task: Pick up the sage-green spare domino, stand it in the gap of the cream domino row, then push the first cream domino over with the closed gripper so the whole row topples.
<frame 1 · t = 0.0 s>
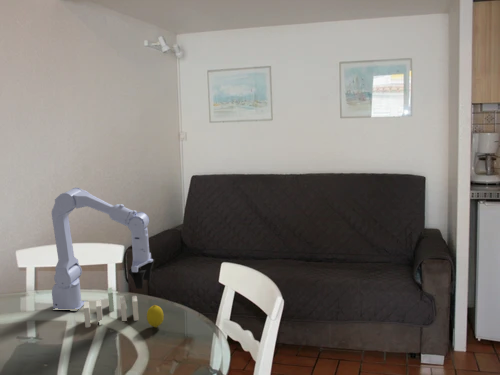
hand: (143, 283, 188), 10 cm above the table, tool pointing down, fingers open, 7 cm apart
domino 5: (135, 317, 185), on the table
domino 4: (124, 318, 184), on the table
domino 2: (100, 322, 182), on the table
domino 1: (88, 323, 181), on the table
lemon: (156, 327, 178), on the table
spare domino: (111, 308, 193), on the table
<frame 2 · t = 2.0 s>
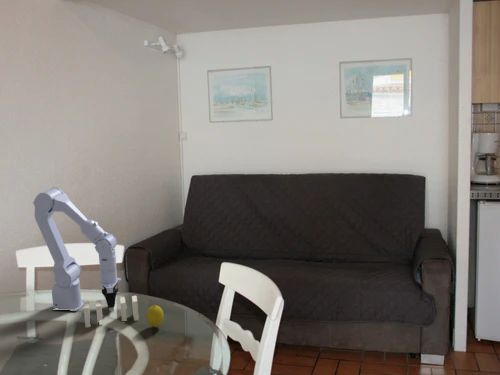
hand: (111, 303, 192), 2 cm above the table, tool pointing down, fingers closed on spare domino, 5 cm apart
spare domino: (111, 308, 193), on the table, touching gripper
everything else where it was.
when the fingers open (3 cm above the table, at t = 5.9 s): spare domino drops 1 cm, on the table.
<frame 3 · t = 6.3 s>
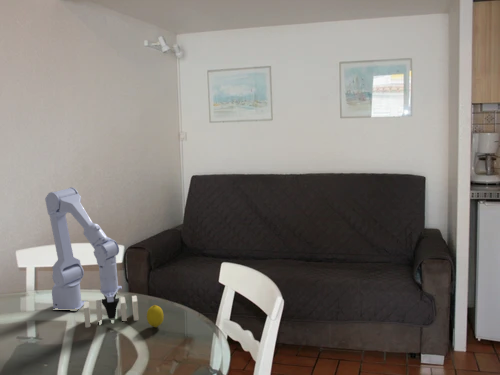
hand: (111, 313, 183), 3 cm above the table, tool pointing down, fingers open, 7 cm apart
spare domino: (112, 320, 183), on the table
everything else where it was.
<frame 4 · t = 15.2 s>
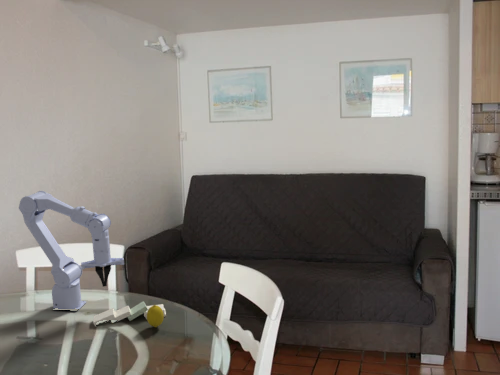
hand: (104, 285, 189), 9 cm above the table, tool pointing down, fingers closed
domino 5: (145, 315, 186), on the table, tilted 90°, touching domino 4
domino 4: (143, 311, 186), point 2 cm above the table, tilted 90°, touching domino 5
domino 2: (110, 318, 183), point 1 cm above the table, tilted 72°, touching domino 1, spare domino
domino 1: (94, 321, 181), point 1 cm above the table, tilted 72°, touching domino 2
spare domino: (127, 316, 184), point 1 cm above the table, tilted 65°, touching domino 2
everything else where it was.
at the end: domino 5 tilted 90°; spare domino inside the target area (2.6 cm from its centre), point 0.8 cm above the table; spare domino tilted 65° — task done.
